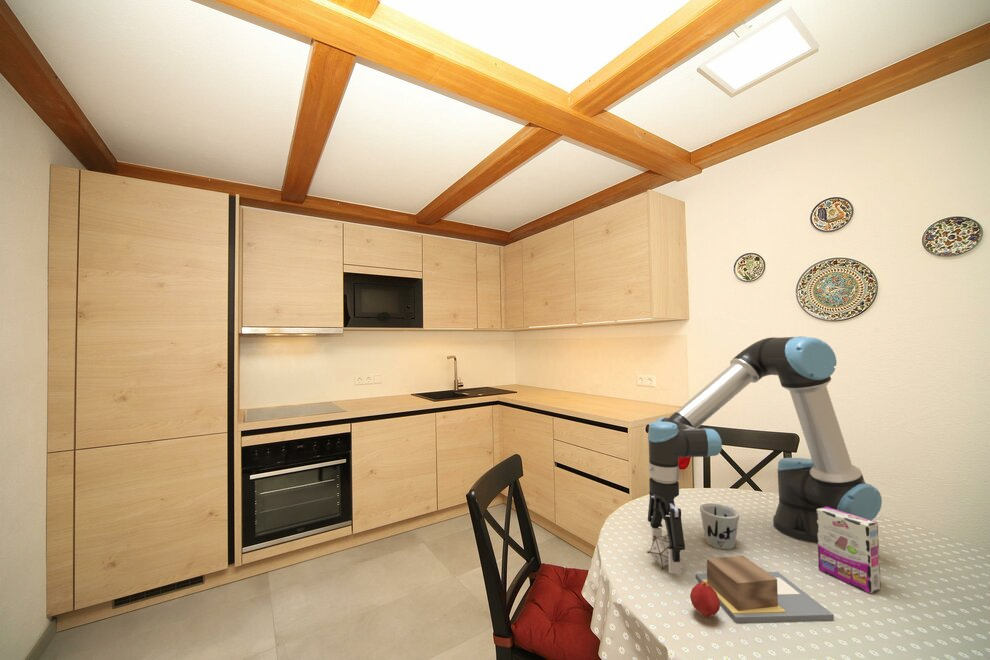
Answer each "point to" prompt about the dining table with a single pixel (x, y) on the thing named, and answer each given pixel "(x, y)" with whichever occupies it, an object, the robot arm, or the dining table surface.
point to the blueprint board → (789, 607)
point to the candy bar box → (849, 548)
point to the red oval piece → (705, 599)
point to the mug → (719, 525)
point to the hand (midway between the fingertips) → (665, 561)
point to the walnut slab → (742, 583)
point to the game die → (661, 550)
